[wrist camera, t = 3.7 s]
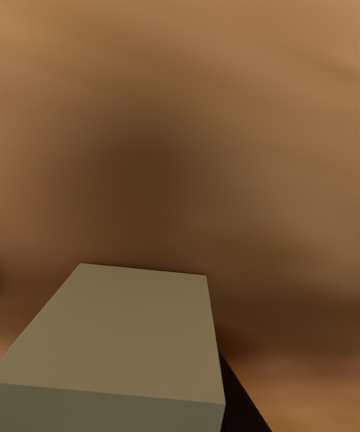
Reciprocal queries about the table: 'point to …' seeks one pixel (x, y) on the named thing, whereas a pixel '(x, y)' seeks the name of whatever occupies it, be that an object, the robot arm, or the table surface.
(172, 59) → the table surface
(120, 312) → the sage block
